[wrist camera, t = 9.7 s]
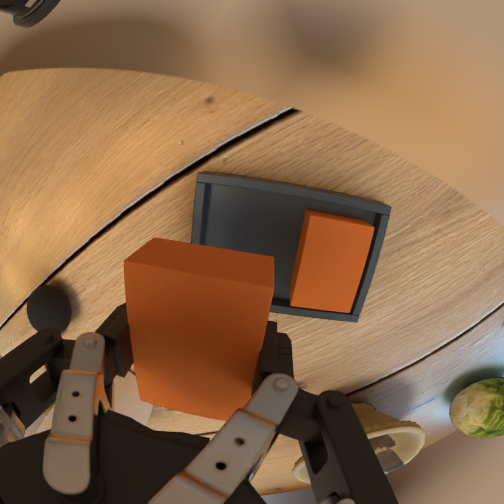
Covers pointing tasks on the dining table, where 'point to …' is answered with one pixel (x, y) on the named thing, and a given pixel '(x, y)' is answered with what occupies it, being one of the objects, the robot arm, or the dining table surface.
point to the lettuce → (480, 409)
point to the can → (119, 402)
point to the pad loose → (197, 324)
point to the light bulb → (49, 309)
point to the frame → (278, 228)
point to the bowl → (381, 440)
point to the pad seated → (329, 261)
